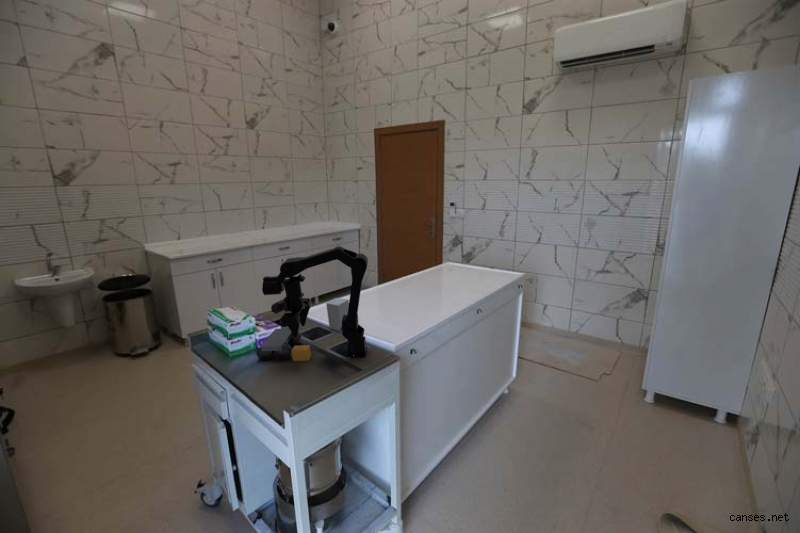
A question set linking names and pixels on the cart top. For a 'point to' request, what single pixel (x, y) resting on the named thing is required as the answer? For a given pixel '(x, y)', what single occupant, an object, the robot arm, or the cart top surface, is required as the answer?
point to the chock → (301, 353)
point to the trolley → (278, 345)
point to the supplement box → (337, 312)
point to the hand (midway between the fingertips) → (299, 331)
